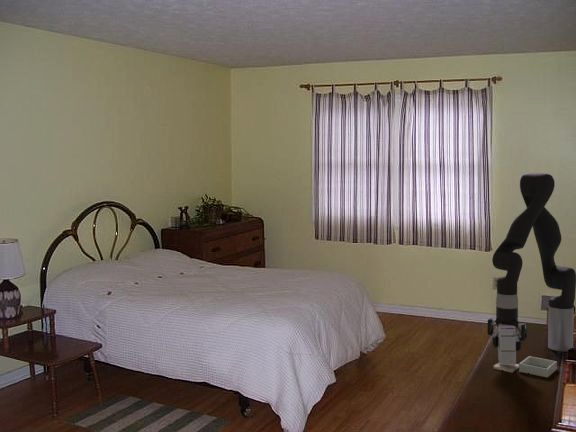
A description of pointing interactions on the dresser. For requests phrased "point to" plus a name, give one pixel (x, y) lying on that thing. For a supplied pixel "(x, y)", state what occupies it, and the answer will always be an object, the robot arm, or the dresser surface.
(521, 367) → the bin
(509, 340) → the syrup box
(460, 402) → the dresser surface
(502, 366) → the pad
